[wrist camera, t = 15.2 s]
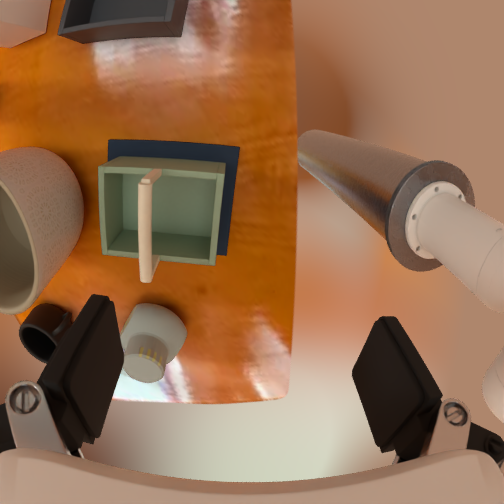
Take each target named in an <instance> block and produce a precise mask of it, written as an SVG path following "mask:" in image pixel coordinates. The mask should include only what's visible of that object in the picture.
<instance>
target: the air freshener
mask: <svg viewBox="0 0 504 504" xmlns="http://www.w3.org/2000/svg"><path fill="white" fill-rule="evenodd" d="M186 336H187V330H186V328H185V326H184V324H183V322H182V321H181V319H180V318H179V317H178V316H177V315H176V314H175V313H173V312H172V311H171V310H169V309H167V308H165V307H163V306H160V305H157V304H151V303H142V304H137V305H136V306H135V307H134V309H133V311H132V312H131V314H130V316H129V317H128V319H127V321H126V323H125V325H124V327H123V329H122V331H121V333H120V338H121V343H122V347H123V349H124V350H125V353H124V364H123V369H124V370H125V372H126V373H127V374H128V375H129V376H130V377H132V378H133V379H135V380H138V381H140V382H145V383H152V382H156V381H159V380H160V379H161V378H162V377H163V376H164V371H165V367H166V364H168V363H170V362H171V361H172V360H173V359H174V357H175V356H176V355H177V354H178V352H179V351H180V349H181V347H182V346H183V344H184V342H185V339H186Z"/></svg>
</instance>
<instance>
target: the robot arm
mask: <svg viewBox="0 0 504 504" xmlns="http://www.w3.org/2000/svg"><path fill="white" fill-rule="evenodd" d="M405 234H406V239H407V242H408V245H409V246H410V248H411V249H412V250H413V251H414V252H415V253H416V254H417V255H418V256H420V257H422V258H426V259H433V258H436V259H437V260H439V261H440V262H441V263H442V264H443V265H444V266H445V267H446V268H447V269H448V270H450V271H451V272H452V273H453V274H454V275H455V276H456V277H457V278H458V279H459V280H460V281H462V283H463V284H464V285H465V286H466V287H467V288H468V289H469V290H470V291H471V292H472V293H474V295H476V297H478V299H480V300H481V302H482V303H483V304H485V306H487V307H488V308H489V309H491V310H493V311H495V312H499V313H504V224H502V223H500V222H499V221H497V220H496V219H494V218H492V217H491V216H489V215H487V214H486V213H484V212H482V211H480V210H479V209H477V208H475V207H473V206H472V205H470V204H468V203H466V200H465V197H464V195H463V193H462V192H461V190H460V189H459V188H458V187H457V186H455V185H453V184H451V183H449V182H446V181H438V182H433V183H431V184H429V185H427V186H426V187H425V188H423V189H422V190H421V191H420V192H419V193H418V194H417V196H416V197H415V199H414V200H413V202H412V204H411V206H410V208H409V210H408V213H407V217H406V223H405ZM123 364H124V352H123V348H122V343H121V338H120V333H119V328H118V323H117V318H116V312H115V306H114V302H113V301H110V299H109V297H108V296H103V295H96V294H93V295H91V297H90V298H89V300H88V301H87V303H86V304H85V306H84V307H83V309H82V310H81V312H80V314H79V315H78V317H77V318H76V320H75V322H74V323H73V325H72V326H71V327H70V328H68V329H67V330H66V332H65V334H64V335H63V337H62V339H61V340H60V342H59V344H58V345H57V347H56V349H55V350H54V352H53V354H52V356H51V357H50V359H49V361H48V363H47V365H46V366H45V368H44V370H43V372H42V374H41V376H40V378H39V379H38V381H37V383H35V382H33V381H28V380H25V381H20V382H17V383H15V384H14V385H13V386H12V387H10V389H9V390H8V392H7V394H6V397H5V403H4V404H2V405H0V504H504V441H503V440H502V438H501V437H500V436H498V435H497V434H495V433H493V432H491V431H489V430H487V429H484V428H482V427H480V426H478V425H476V424H474V423H472V422H471V414H470V411H469V409H468V408H467V406H466V405H465V404H464V403H463V402H461V401H460V400H457V399H454V398H453V399H451V398H450V399H446V400H444V401H443V402H442V401H441V398H442V396H443V395H442V393H441V391H440V389H439V387H438V386H437V384H436V382H435V380H434V378H433V377H432V375H431V373H430V371H429V370H428V368H427V366H426V365H425V363H424V361H423V360H422V358H421V356H420V355H419V353H418V351H417V350H416V348H415V346H414V345H413V343H412V341H411V340H410V338H409V337H408V335H407V333H406V332H405V330H404V329H403V327H402V326H401V324H400V323H399V321H398V319H397V318H396V317H394V316H387V317H386V316H382V317H380V318H379V319H378V320H377V321H375V323H374V325H373V327H372V329H371V332H370V334H369V336H368V338H367V341H366V343H365V345H364V347H363V349H362V351H361V353H360V355H359V357H358V360H357V362H356V363H355V365H354V368H353V370H352V377H353V380H354V383H355V385H356V389H357V391H358V394H359V397H360V400H361V403H362V405H363V408H364V411H365V414H366V417H367V420H368V423H369V426H370V429H371V432H372V434H373V437H374V441H375V443H376V445H377V446H378V447H380V449H381V452H382V453H384V452H389V451H393V450H394V449H395V451H396V457H395V459H394V461H393V463H392V465H390V466H385V467H381V468H377V469H372V470H368V471H363V472H358V473H352V474H346V475H340V476H333V477H326V478H318V479H309V480H299V481H283V482H217V481H203V480H191V479H182V478H175V477H167V476H160V475H154V474H149V473H143V472H138V471H133V470H128V469H123V468H119V467H114V466H110V465H106V464H102V463H98V462H94V461H91V460H87V459H85V458H84V456H83V454H82V452H81V451H80V448H81V446H82V443H83V442H86V443H90V444H94V440H95V438H99V437H100V435H101V431H102V428H103V424H104V422H105V418H106V415H107V412H108V409H109V406H110V402H111V399H112V396H113V393H114V390H115V387H116V384H117V381H118V379H119V376H120V373H121V370H122V367H123ZM482 393H483V397H484V400H485V402H486V404H487V406H488V407H489V408H490V410H491V411H492V412H493V413H494V415H496V416H497V418H498V419H500V420H501V421H502V422H503V423H504V347H503V348H502V350H501V351H500V353H499V354H498V356H497V357H496V358H495V360H494V361H493V363H492V364H491V366H490V367H489V369H488V370H487V372H486V374H485V376H484V379H483V383H482Z"/></svg>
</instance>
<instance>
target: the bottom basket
mask: <svg viewBox="0 0 504 504" xmlns="http://www.w3.org/2000/svg"><path fill="white" fill-rule="evenodd" d="M187 5H188V0H66V2H65V6H64V9H63V13H62V17H61V21H60V26H59V30H58V35H59V36H62V37H65V38H68V39H71V40H74V41H77V42H80V43H82V44H84V43H91V42H98V41H106V40H115V39H127V38H142V37H181V35H182V30H183V24H184V19H185V14H186V10H187Z"/></svg>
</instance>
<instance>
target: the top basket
mask: <svg viewBox="0 0 504 504" xmlns="http://www.w3.org/2000/svg"><path fill="white" fill-rule="evenodd" d="M225 166H226V163H221V162H211V161H199V160H187V159H172V158H154V157H129V156H119V157H117V158H115V159H113V160H111V161H109V162H107V163H104V164H102V165H100V166H98V192H99V217H100V233H101V245H102V254H103V255H112V256H121V257H131V258H139V267H140V280H141V281H142V282H144V283H151V281H152V278H153V275H154V273H155V270H156V268H157V265H158V263H159V261H170V262H181V263H191V264H202V265H212V266H215V263H216V252H217V242H218V232H219V222H220V212H221V203H222V194H223V185H224V176H225Z"/></svg>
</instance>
